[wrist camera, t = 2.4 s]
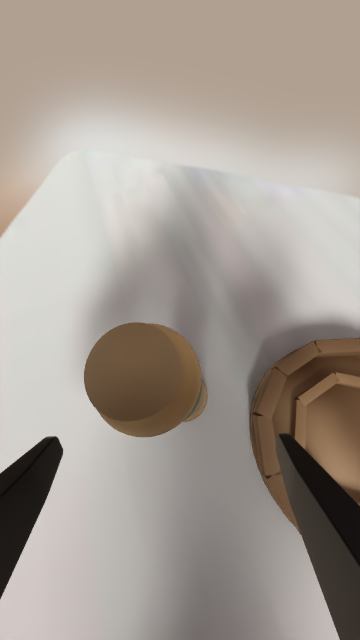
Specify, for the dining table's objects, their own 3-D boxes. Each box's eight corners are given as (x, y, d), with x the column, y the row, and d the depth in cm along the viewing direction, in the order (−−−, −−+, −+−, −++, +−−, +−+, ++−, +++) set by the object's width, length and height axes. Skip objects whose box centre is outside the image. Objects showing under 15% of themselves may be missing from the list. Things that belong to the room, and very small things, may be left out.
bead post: (175, 431, 17) (87, 505, 4) (152, 387, 19) (34, 344, 6) (216, 403, 18) (248, 395, 5) (190, 363, 19) (161, 272, 6)
